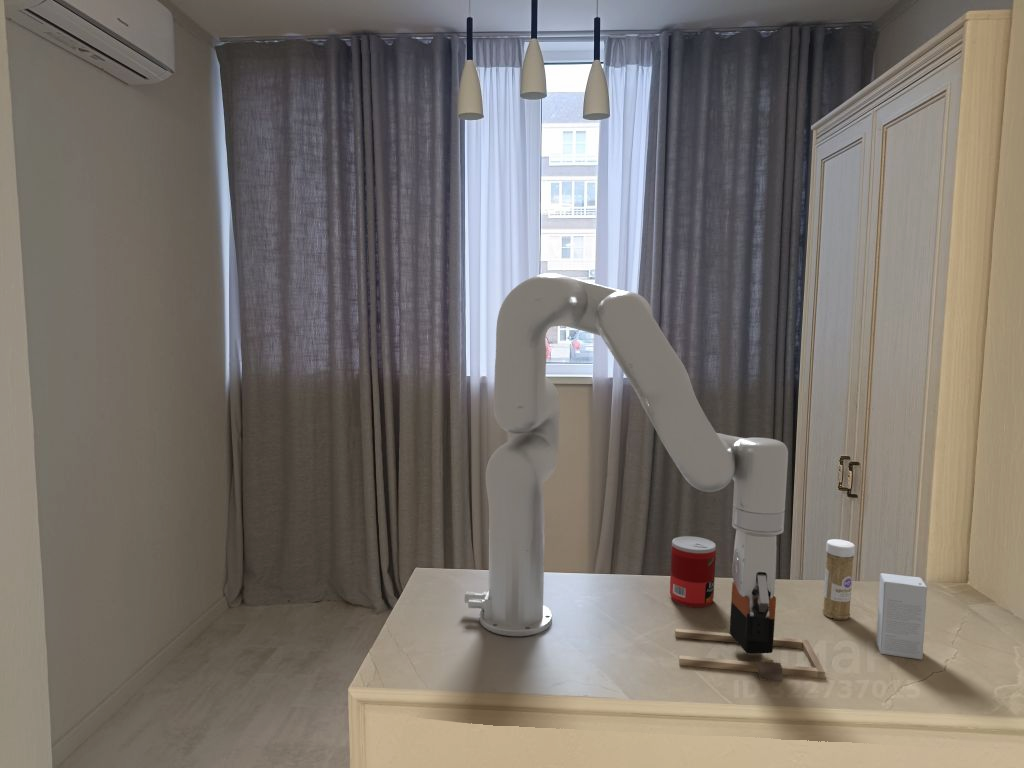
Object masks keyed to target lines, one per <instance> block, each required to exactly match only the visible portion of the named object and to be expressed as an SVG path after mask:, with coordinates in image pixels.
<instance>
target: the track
mask: <svg viewBox="0 0 1024 768" xmlns="http://www.w3.org/2000/svg"><path fill="white" fill-rule="evenodd" d="M674 637H675V638H682V639H691V640H703V641H714V642H715V641H716V642H727V643H735V644H736V643H737V642H736V640H735V639H734V638H733V637H732V636H731V635H730V632H729V633H728V632H717V631H706V630H695V629H693V630H692V629H686V628H685V629H684V628H683V629H682V628H675V629H674ZM737 644H738V643H737ZM773 647H785V648H793V649H794V648H795V649H796V648H797V649H802V650H803V652H804V654H805V657H806V658H807V660H808V662H809V664H810V666H811V667H810V666H799V665H791V664H790V665H789V664H788V665H787V664H781V663H780V662H774V660H773V659H766V658H762V659H761V660H760V661H758V662H756V661H747V660H746V661H745V660H744V661H743V660H733V659H725V658H723V659H722V658H713V657H702V656H701V657H700V656H689V655H678V665H680V666H689V667H699V668H700V667H701V668H710V669H720V670H721V669H722V670H731V671H743V672H755V673H758V677H759V680H763V681H773V682H783V681H782V680H783V675H784V676H785V675H786V676H795V677H807V678H816V679H817V678H818V679H825V677H826V671H825V669H824V668H823V666H822V663H821V662H820V660H819V658H818V657H817V655H816V653H815V651H814V649H813V647H812V645H811V643H810V641H809V640H808V639H798V638H789V637H776V636H774V639H773Z"/></svg>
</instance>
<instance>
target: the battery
mask: <svg viewBox="0 0 1024 768" xmlns="http://www.w3.org/2000/svg"><path fill="white" fill-rule="evenodd" d="M752 594H754V595H758V592H757V591H752ZM753 603H754V605H755V604H756V603H758V600H756V599H753ZM776 603H777V597H776V596H775V595H774V596H773V597H772V598H771V599H769V617H770V618H769V635H768V641H767V642H758V641H748V640H747V639H746V618H747V614H749V598H748V596H745V597H742V596H741V595H740V594H739V592H738V590H737V588H736V585H735V583H734V580H733V581H732V585H731V600H730V619H729V633H730V635H731V636H732V637H733V638H734V639H735V640H736V642H737V644H738V645H739V646H740V648H741V649H742V650H743V652H745V653H746V654H749V655H753V654H754V655H755V654H757V655H758V654H772V653H773V650H774V646H773V639H774V637H775V635H774V633H775V623H776V622H775V621H776V608H777V606H776ZM736 642H735V643H736Z"/></svg>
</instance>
